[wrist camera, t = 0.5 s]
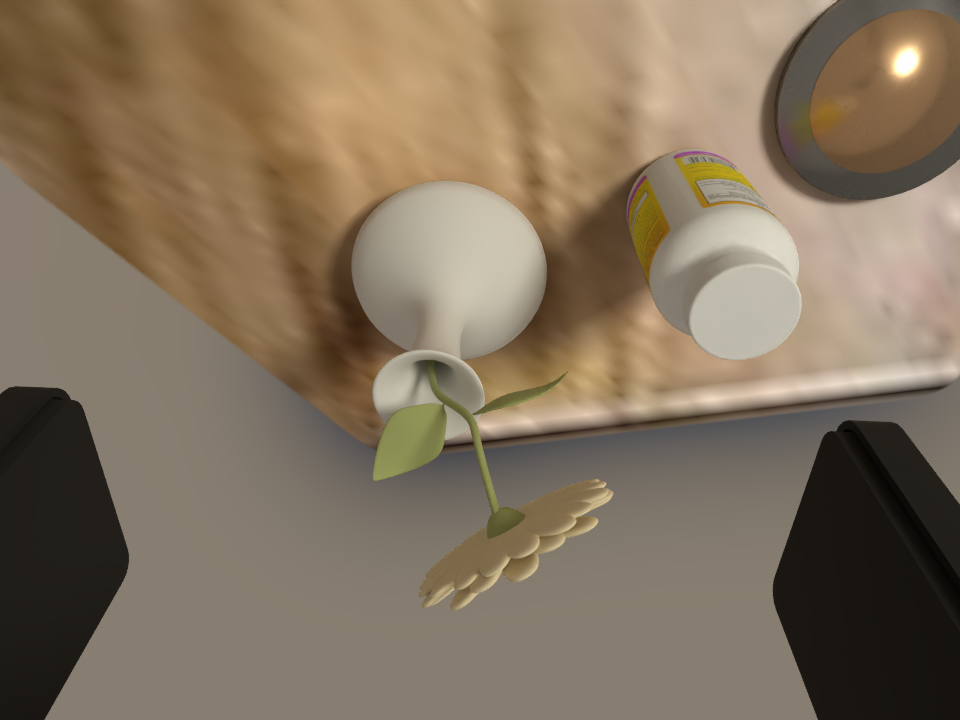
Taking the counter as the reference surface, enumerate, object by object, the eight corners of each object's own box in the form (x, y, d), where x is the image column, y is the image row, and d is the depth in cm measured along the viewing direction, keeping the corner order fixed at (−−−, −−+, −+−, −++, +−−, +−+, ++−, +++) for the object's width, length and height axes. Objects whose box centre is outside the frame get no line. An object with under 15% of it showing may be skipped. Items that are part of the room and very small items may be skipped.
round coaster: (786, -13, 35) (791, -11, 35) (1028, -43, 34) (1040, -42, 34) (765, 203, 41) (770, 209, 41) (972, 183, 40) (981, 189, 40)
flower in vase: (391, 358, 48) (295, 725, 27) (328, 196, 42) (145, 506, 21) (588, 319, 46) (650, 686, 25) (552, 141, 40) (593, 428, 19)
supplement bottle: (656, 276, 44) (701, 403, 33) (603, 186, 41) (635, 293, 30) (763, 220, 42) (848, 337, 31) (716, 120, 39) (792, 212, 28)
